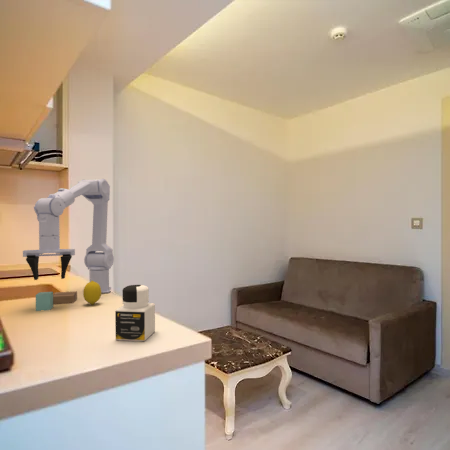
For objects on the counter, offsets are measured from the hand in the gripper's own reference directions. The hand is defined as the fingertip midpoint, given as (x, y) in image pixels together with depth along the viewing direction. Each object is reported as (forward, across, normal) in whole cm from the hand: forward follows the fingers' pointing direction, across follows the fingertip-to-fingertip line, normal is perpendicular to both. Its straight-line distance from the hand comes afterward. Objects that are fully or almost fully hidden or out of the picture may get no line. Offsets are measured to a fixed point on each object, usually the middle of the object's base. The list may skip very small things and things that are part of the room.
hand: (49, 278), depth 105 cm
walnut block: (+10, +2, +10) cm, 14 cm away
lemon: (+10, +12, +2) cm, 16 cm away
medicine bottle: (+10, +26, -34) cm, 44 cm away
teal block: (+10, -2, +1) cm, 10 cm away
